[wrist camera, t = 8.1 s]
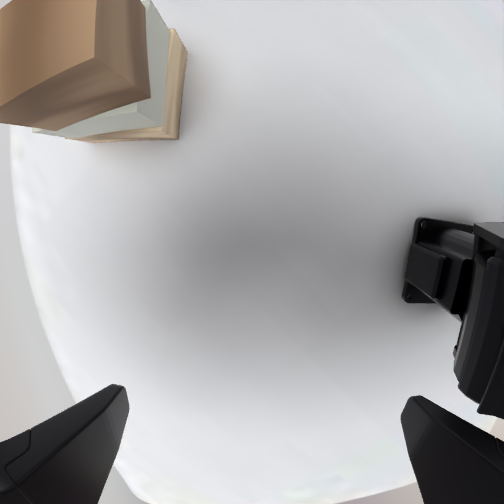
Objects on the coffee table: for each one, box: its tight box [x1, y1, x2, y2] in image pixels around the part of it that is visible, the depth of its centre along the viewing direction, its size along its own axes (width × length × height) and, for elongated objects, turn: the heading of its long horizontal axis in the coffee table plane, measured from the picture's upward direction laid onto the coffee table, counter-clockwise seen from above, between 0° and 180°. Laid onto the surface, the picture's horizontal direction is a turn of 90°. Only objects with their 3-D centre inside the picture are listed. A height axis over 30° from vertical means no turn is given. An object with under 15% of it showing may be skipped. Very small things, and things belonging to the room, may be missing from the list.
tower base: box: [65, 29, 187, 143], centre depth 16 cm, size 6×6×4 cm
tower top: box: [32, 0, 171, 139], centre depth 12 cm, size 6×6×4 cm
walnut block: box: [0, 0, 151, 131], centre depth 8 cm, size 5×5×5 cm
